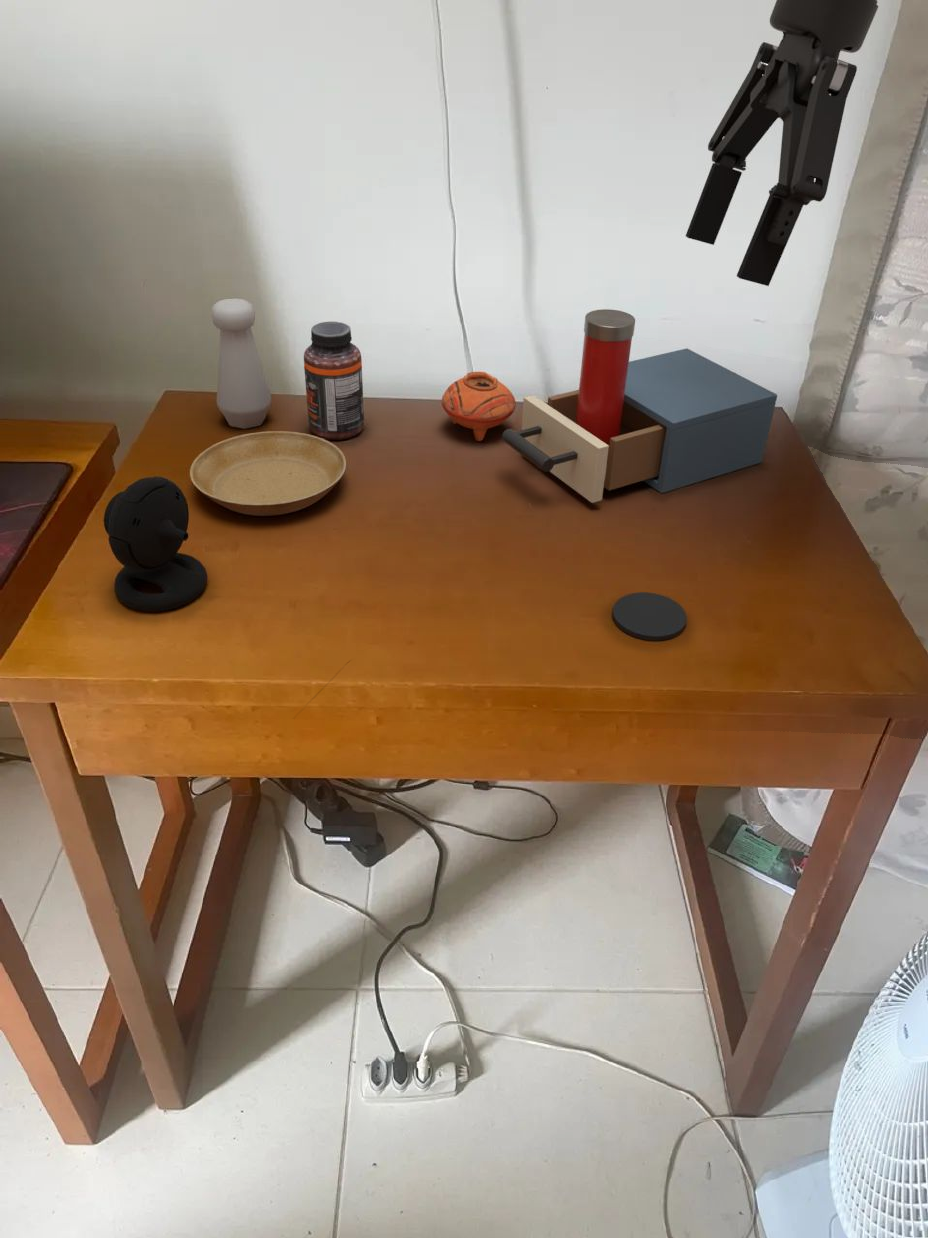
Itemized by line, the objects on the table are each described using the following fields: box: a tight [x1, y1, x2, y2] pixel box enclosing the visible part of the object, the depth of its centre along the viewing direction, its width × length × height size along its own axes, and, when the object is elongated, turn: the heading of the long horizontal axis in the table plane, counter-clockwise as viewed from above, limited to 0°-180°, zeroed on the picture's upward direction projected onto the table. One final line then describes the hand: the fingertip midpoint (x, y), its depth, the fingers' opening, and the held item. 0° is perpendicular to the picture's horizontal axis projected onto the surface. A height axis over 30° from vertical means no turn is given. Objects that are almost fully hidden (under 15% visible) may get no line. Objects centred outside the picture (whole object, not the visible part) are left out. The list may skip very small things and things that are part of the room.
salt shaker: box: [211, 298, 272, 430], centre depth 103 cm, size 6×6×13 cm
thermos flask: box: [576, 308, 636, 460], centre depth 95 cm, size 5×5×14 cm
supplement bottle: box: [303, 320, 365, 441], centre depth 103 cm, size 6×6×11 cm
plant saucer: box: [189, 430, 347, 517], centre depth 95 cm, size 15×15×3 cm
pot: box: [441, 371, 517, 442], centre depth 105 cm, size 8×8×7 cm
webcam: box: [103, 476, 208, 612], centre depth 79 cm, size 8×8×10 cm
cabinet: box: [624, 347, 778, 494], centre depth 102 cm, size 14×14×8 cm
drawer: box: [501, 389, 667, 504], centre depth 97 cm, size 17×12×6 cm
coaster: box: [611, 591, 688, 642], centre depth 80 cm, size 6×6×1 cm
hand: (724, 259), depth 87 cm, fingers open, 13 cm apart
